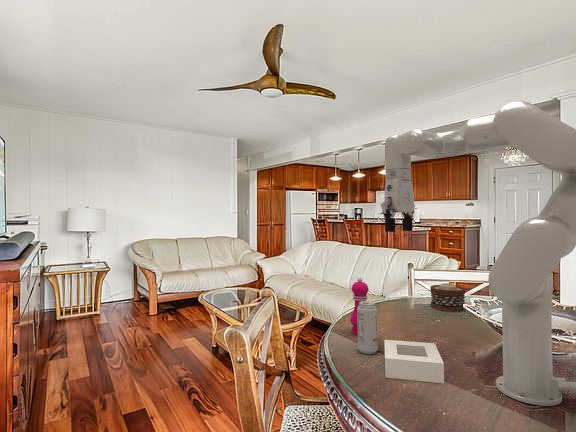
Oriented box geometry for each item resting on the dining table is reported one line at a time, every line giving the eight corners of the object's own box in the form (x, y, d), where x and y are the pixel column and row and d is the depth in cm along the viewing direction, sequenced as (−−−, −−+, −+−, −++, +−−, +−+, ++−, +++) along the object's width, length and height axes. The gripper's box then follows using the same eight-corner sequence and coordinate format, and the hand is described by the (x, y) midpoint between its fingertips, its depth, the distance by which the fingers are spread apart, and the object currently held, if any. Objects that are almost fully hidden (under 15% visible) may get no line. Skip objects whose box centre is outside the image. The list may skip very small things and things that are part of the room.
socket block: (435, 360, 97) (434, 343, 97) (444, 383, 84) (443, 363, 84) (384, 356, 101) (384, 339, 101) (385, 377, 87) (385, 358, 87)
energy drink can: (378, 355, 102) (377, 305, 102) (358, 354, 103) (357, 305, 103) (376, 348, 108) (375, 300, 108) (357, 347, 109) (356, 300, 109)
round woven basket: (473, 286, 148) (443, 288, 146) (474, 311, 148) (443, 313, 146) (451, 280, 163) (423, 282, 160) (452, 303, 163) (423, 305, 160)
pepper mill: (371, 336, 118) (370, 279, 118) (350, 335, 119) (349, 279, 120) (370, 330, 125) (369, 276, 125) (350, 329, 127) (349, 275, 127)
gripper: (393, 172, 96) (394, 232, 96) (423, 176, 107) (424, 230, 107) (371, 175, 102) (372, 232, 102) (402, 179, 113) (403, 230, 113)
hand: (399, 231), depth 104 cm, fingers open, 9 cm apart
